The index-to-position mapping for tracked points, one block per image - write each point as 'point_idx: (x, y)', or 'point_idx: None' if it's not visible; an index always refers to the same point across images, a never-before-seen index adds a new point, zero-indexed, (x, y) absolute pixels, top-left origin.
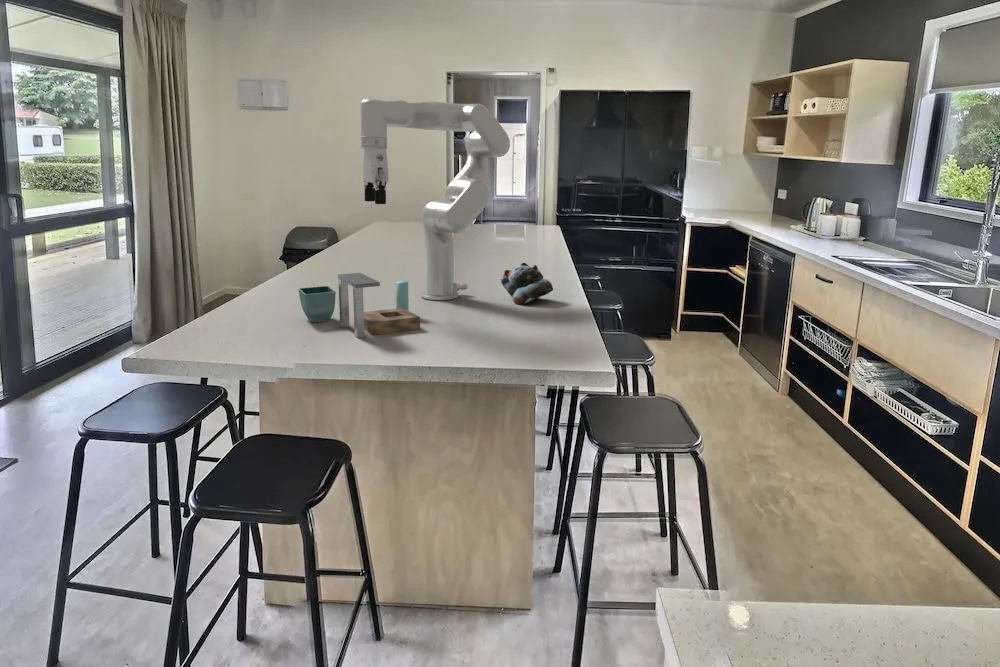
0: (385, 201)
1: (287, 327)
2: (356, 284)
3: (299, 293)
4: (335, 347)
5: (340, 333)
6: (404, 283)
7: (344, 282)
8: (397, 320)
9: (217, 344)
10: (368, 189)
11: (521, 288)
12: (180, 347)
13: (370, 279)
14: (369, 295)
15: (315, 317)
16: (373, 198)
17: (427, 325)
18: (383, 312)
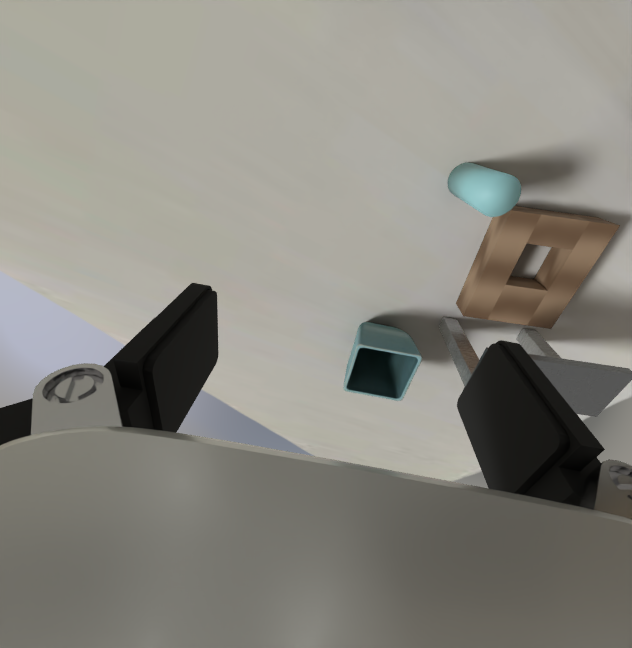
0: (524, 356)
1: None
2: (597, 415)
3: (351, 385)
4: None
5: (480, 346)
6: (518, 199)
7: None
8: (582, 279)
9: (404, 456)
10: (167, 418)
11: None
12: None
13: (586, 374)
14: (212, 136)
15: (393, 354)
16: (207, 313)
17: (593, 182)
18: (507, 272)
